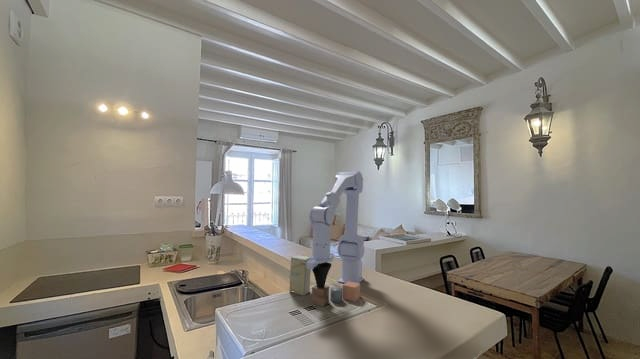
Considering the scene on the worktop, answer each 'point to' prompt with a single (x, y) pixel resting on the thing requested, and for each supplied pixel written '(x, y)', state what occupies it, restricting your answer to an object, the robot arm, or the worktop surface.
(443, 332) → the worktop surface
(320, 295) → the walnut block
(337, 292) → the blue-grey short cylinder
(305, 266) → the skincare box
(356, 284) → the terracotta cube
